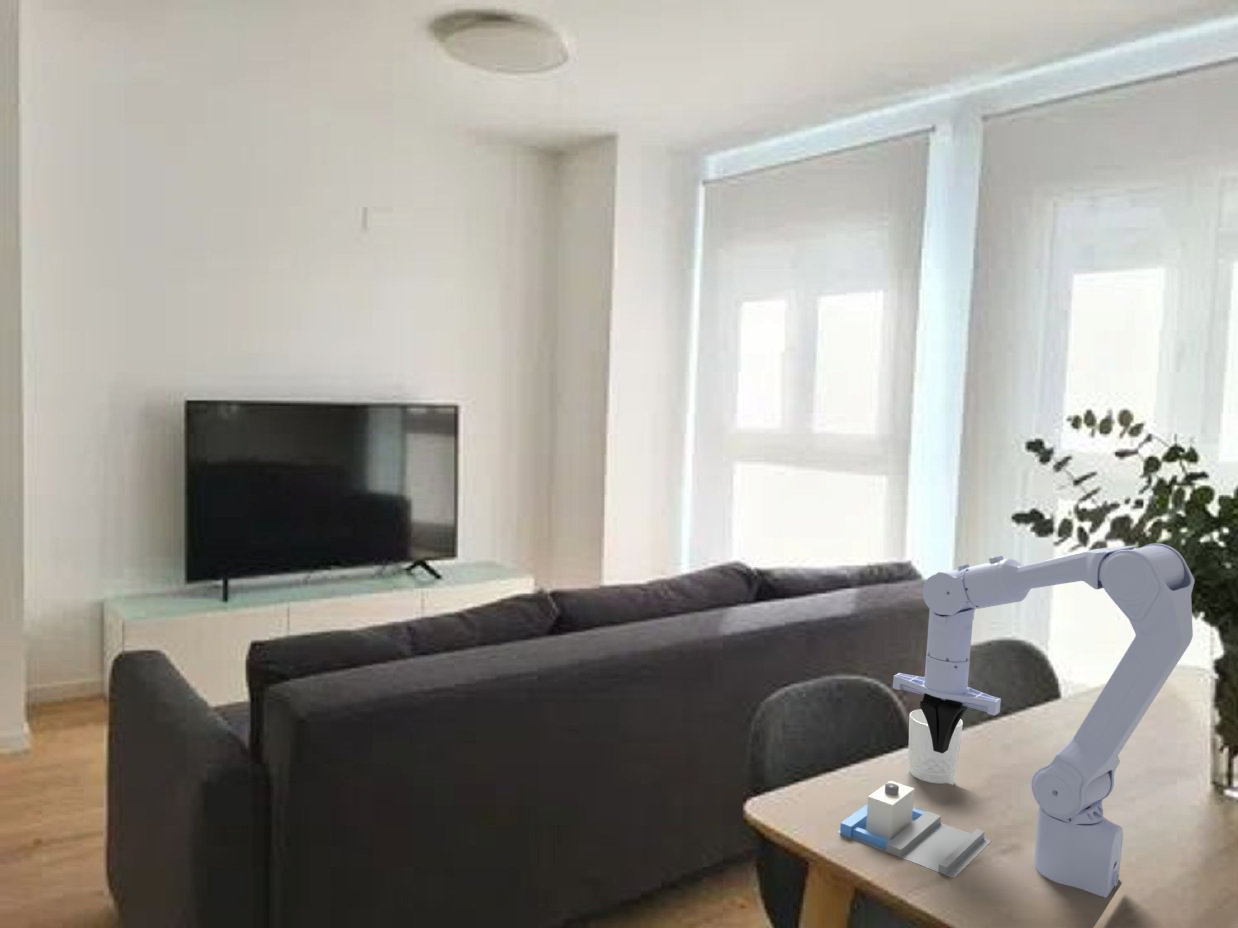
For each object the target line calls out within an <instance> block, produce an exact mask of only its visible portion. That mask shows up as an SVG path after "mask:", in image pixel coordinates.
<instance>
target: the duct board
mask: <svg viewBox="0 0 1238 928" xmlns="http://www.w3.org/2000/svg"><path fill="white" fill-rule="evenodd" d="M867 805H868V803H866V805H864V806H862V807H861V808H860V809H858V810H857V811H855V812H854V813H853V814H851V815H850V816H849V817H847V818H845V819H844V820H843V821H841V822H840V827H839V828H840V829H839V830H838V831H836V833H837V834H839V835H841V836H845V837H847V838H850V839H852V840H855V841H857V842H860V843H862V844H865V845H866V846H867V845H868V846H870V847H872V848H875V849H878V850H879V851H883V852H885V853H888V854H890V855H893V856H896V857H898V858H901V859H903V860H906V861H909V862H911V863H912V864H915V865H919V866H921V867H923V868H926V869H929V870H931V871H934V872H937V873H938V874H941V875H944V876H947V877H949V878H952V879H956V877H957V876H958V875H959V874H960V873H961V872H962V871H963V870H965V868H967V867H968V866H969V865H970V863H971V862H973V861H974V859H975V858H977V856H978V855H980V853H982V852H983V850H984V849H986V848H987V847H988V846H989V845H990V844H991V843H992V840H991V839H987V838H985V834H986V831H984V830H982V829H980V828H976V829H975V830H974V831H973V832H972V833H971V832H968V831H965V830H962V829H959V828H956V827H953V826H951V825H948V824H946V823H943V822H942V821H941V819H942V815H940V814H937V813H934V812H931V811H928V810H926V811H923V810H920V809H918V808H915V807H913V815H912V823H911V824H910V825H909V826H908V827H907V828H905V829H904V830H903V831H902V832H900V833H899V834H898V835H897V836H895V837H894V838H893V839H892V840H890V839H888V838H885V837H882V836H880V835H877V834H874V833H872V832H869V831H867V830H866V820H867Z"/></svg>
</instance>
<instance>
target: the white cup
mask: <svg viewBox="0 0 1238 928" xmlns="http://www.w3.org/2000/svg"><path fill="white" fill-rule="evenodd" d="M908 716H909V717H908V719H909V721H908V726H909V727H908V760H909V761H908V764H909V766H908V772H909V774H911V776H912V777H915V778H916V779H918V780H919V781H923V782H924V781H925V782H928V783H932V784H941V785H942V784H949V785H951V786H954V784H955V776H956V770H957V768H958V761H959V756H960V755H959V754H960V750H961V739H962V733H963V724H964V723H963V720H962V719H960V720H959V722H958V724H957V726H956V728H955V730H954V732H953V735H952V738H951V741H950V744H949V748H948V750H947V751H946V752H944V753H939V752H936V751H933V744H932V738H931V733H930V729H929V726H928V723H927V720H926V718H925V716H924V713H923V711H922V709H921V708H920V709H914V710H912V711H910V713H909V715H908Z"/></svg>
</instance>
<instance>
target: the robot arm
mask: <svg viewBox="0 0 1238 928" xmlns="http://www.w3.org/2000/svg"><path fill="white" fill-rule="evenodd" d="M988 561H989V562H986V563H982V564H977V565H972V566H971V565H970V564H968V563H966V564H961V565H958V566H957V569H953V570H948V571H938V572H937V573H935V574H932V575H930V576H929V577H928V578H927V579H926V580H925V582H924V583H923V587H922V596H923V597H922V598H923V601H924V603H925V605H926V606H927V608H928V609H929V610H928V611H929V612H928V613H929V614H928V624H927V625H928V628H927V641H926V656H925V668H924V669H925V670H924V676H920V675H919V676H918V675H913V674H906V673H901V672H898V673H897V674H895V675H893V680H892V689H894V690H898V691H902V690H904V691H907V692H911V693H915V694H919V695H922V696H923V698H922V700H921V701H919V707H920V709H922V711H923V713H924V716H925V718H926V720H927V723H928V726H929V729H930V733H931V738H932V744H933V751H936V752H939V753H944V752H946V751H947V750H948V748H949V744H950V741H951V738H952V735H953V732H954V730H955V728H956V726H957V724H958V722H959V720H960V719H961V718H962V717H963V716H964V714H965V713H966V711H967V709H968V708H971V709H974V710H978V711H982V712H986V714H988V715H990V716H996V715H998V714H999V713H1000V712H1001V701H1002V698H1001V697H1000V698H999V697H996V696H992V695H990V694H987V693H985V692H982V691H979V690H977V689H974V688H972V687H968V686H969V674H970V664H971V663H970V660H971V646H972V638H973V637H972V636H973V635H972V634H973V633H972V632H973V621H974V617H975V611H976V609H977V610H979V609H985V608H992V607H997V606H1001V605H1006V604H1013V603H1019V602H1022V601H1024V600H1025V599H1026V597H1027V596H1028V594H1029V592H1030V590H1032V589H1036V588H1037V589H1038V588H1039V589H1040V588H1045V587H1050V586H1057V585H1064V584H1071V583H1076V582H1085V584H1086V585H1088V586H1090V587H1091V588H1093V589H1094V590H1096V591H1098V590H1101V589H1104V590H1105V593H1106V594H1107V595H1108V596H1109V597H1110V599H1111V600H1112V601H1113V602H1114V603H1115V605H1116V606H1117V607H1118V608H1119V610H1120V611H1121V612H1122V613H1123V614H1124V615H1125V616H1126V618H1127V619H1128V621H1129V622H1130V623H1129V624H1130V625H1131V627H1132V629H1133V632H1134V633H1135V637H1134V638H1133V640H1132V641H1131V643H1130V645H1128V646H1129V647H1128V648H1127V649H1126V651H1125V653H1124V654H1123V656H1122V658H1121V660H1120V661H1119V662H1118V665H1117V666H1116V668H1115V669H1114V671H1113V672H1112V674H1111V675H1110V678H1109V679H1108V681H1107V682H1106V683H1105V685H1104V687H1103V689H1102V690H1101V692H1100V693H1099V695H1098V696H1097V698H1096V700H1095V702H1094V703H1093V705H1092V706H1091V708H1090V710H1089V712H1088V713H1087V715H1086V717H1085V718H1084V720H1083V721H1082V723H1081V724H1080V726H1079V728H1078V729H1077V731H1076V732H1075V734H1074V735H1073V738H1071V740H1070V741H1068V742H1067V744H1065V745H1064V746H1063V748H1062V749H1060V751H1058V752H1057V753H1056V754H1055V756H1054V757H1053V760H1052V761H1051V762H1050V763H1048V764H1047V765H1045V766H1043V767H1040V768H1039V769H1037V770H1036V772H1035V773H1034V775H1033V776H1032V779H1031V792H1032V794H1033V797H1034V800H1035V802H1036V803H1037V804H1038V815H1037V823H1036V824H1037V825H1036V827H1037V828H1036V837H1035V849H1034V859H1033V861H1034V862H1033V866H1034V869H1035V870H1036V871H1037V872H1038V874H1040V875H1041V876H1043V877H1045V878H1046V879H1048V880H1050V881H1052V882H1055V883H1058V884H1061V885H1063V886H1069V887H1073V888H1077V889H1080V890H1083V891H1086V892H1089V893H1091V894H1094V895H1097V896H1099V897H1103V898H1105V899H1106V898H1108V896H1109V895H1110V893H1111V892H1112V890H1114V888H1115V887H1116V886H1118V883H1119V879H1120V871H1121V863H1122V862H1121V861H1122V859H1121V858H1122V850H1123V849H1122V848H1123V840H1124V838H1123V837H1124V832H1123V827H1122V826H1121V825H1119V824H1117V823H1114V822H1112V821H1111V820H1108V819H1107V818H1106V817H1104V809H1103V800H1104V799H1106V798H1108V797H1109V796H1110V795H1111V793H1112V792H1113V789H1114V786H1115V772H1116V770H1117V768H1118V767H1119V765H1120V763H1121V761H1120V758H1119V755H1120V753H1121V752H1122V750H1123V749H1124V747H1125V745H1126V743H1127V742H1128V741H1129V739H1130V737H1131V736H1132V734H1133V733H1134V731H1135V730H1136V728H1137V727H1138V726H1139V724H1140V722H1141V721H1142V719H1143V717H1144V716H1145V714H1146V712H1147V711H1148V710H1149V708H1150V706H1151V705H1152V703H1153V702H1154V700H1155V699H1156V697H1157V696H1158V694H1159V693H1160V691H1161V689H1162V687H1164V685H1165V683H1166V681H1168V679H1169V677H1170V676H1171V674H1172V673H1173V671H1174V669H1175V668H1176V666H1177V665H1178V663H1179V662H1180V660H1181V659H1182V656H1184V653H1186V651H1187V649H1188V647H1189V646H1190V645H1191V642H1192V641H1193V635H1194V633H1193V609H1192V608H1193V607H1192V593H1193V589H1194V586H1195V585H1194V584H1195V581H1196V580H1195V578H1194V575H1193V574H1192V572H1191V570H1190V568H1189V566H1188V564H1187V562H1186V560H1185V558H1184V557H1183V555H1182V554H1181V553H1180V552H1179V551H1178V550H1177V549H1175V548H1173V547H1172V546H1170V545H1167V544H1164V543H1149V544H1145V545H1143V546H1142V547H1138V548H1137V545H1126V546H1116V547H1115V546H1114V547H1102V548H1095V549H1090V550H1084V551H1081V552H1076V553H1073V554H1068V555H1064V556H1059V557H1055V558H1050V559H1047V560H1046V559H1045V560H1043V561H1038V562H1034V563H1030V564H1026V565H1024V564H1022V563H1021V562H1019V561H1018V560H1016V559H1013V558H1010V557H1008V558H1004V556H1003V555H997V556H992V557H989V558H988ZM961 720H962V719H961Z"/></svg>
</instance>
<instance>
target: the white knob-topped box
mask: <svg viewBox="0 0 1238 928" xmlns="http://www.w3.org/2000/svg"><path fill="white" fill-rule="evenodd" d="M914 799H915V787H911V786H909V785H905V784H902V783H899V782H897V781H894V780H889V781H887V782H886V783H885V784H883V785H882V786H881V787H879V788H878V789H876V790H875V791H874V792H872V793H870V795H868V796H867V804H868V805H867V804H866V805H867V820H866V830H867V831H869V832H872V833H874V834H877V835H880V836H882V837H885V838H888V839H890V840H892V839H893V838H894V837H895V836H897V835H898V834H899V833H900V832H902V831H903V830H904V829H905V828H907V827H908V826H909V825H910V824H911V823H912V815H913V808H914V801H915V800H914Z"/></svg>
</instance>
